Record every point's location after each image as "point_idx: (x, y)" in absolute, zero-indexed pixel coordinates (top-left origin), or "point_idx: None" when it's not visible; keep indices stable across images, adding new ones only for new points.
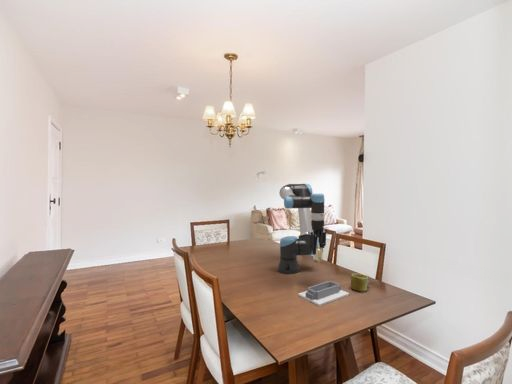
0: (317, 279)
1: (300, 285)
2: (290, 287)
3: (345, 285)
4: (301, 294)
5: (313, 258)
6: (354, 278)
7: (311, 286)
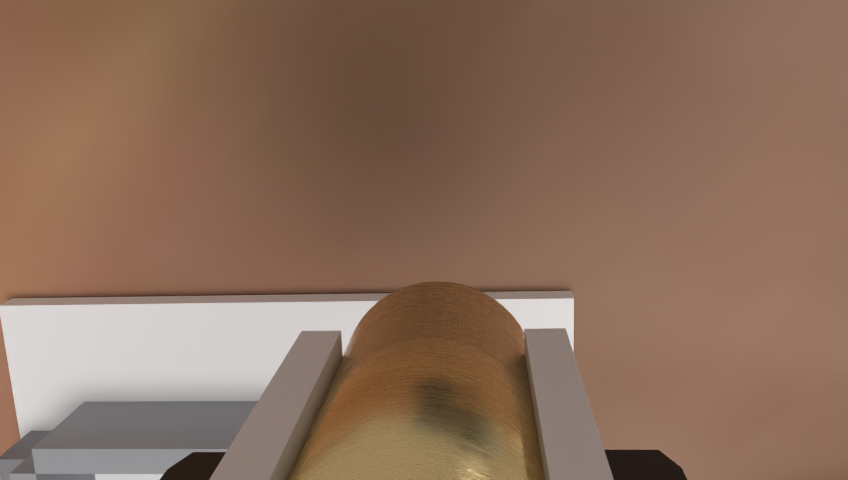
0: (660, 3)
1: (244, 48)
2: (65, 23)
3: (805, 424)
4: (22, 351)
5: (295, 350)
6: None
7: (109, 452)
